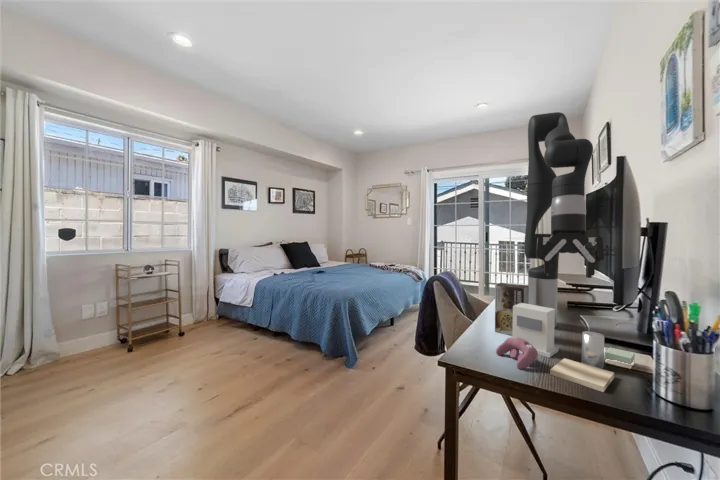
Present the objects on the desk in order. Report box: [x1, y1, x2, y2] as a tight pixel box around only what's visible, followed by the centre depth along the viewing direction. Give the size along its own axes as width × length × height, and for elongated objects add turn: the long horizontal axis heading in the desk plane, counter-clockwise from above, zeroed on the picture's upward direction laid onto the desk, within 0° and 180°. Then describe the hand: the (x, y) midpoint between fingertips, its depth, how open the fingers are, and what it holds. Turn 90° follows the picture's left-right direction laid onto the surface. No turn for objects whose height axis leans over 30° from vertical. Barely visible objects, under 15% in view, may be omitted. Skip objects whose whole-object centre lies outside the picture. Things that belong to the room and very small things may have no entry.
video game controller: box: [495, 335, 539, 370], centre depth 77 cm, size 10×5×7 cm, turn 10°
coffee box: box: [494, 282, 529, 336], centre depth 99 cm, size 9×6×16 cm
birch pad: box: [549, 357, 615, 393], centre depth 69 cm, size 10×10×1 cm
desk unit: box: [511, 303, 560, 359], centre depth 86 cm, size 7×11×12 cm, turn 39°
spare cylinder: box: [581, 330, 605, 369], centre depth 75 cm, size 4×4×8 cm
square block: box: [604, 347, 636, 364], centre depth 76 cm, size 5×5×3 cm
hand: (568, 276), depth 76 cm, fingers open, 8 cm apart
